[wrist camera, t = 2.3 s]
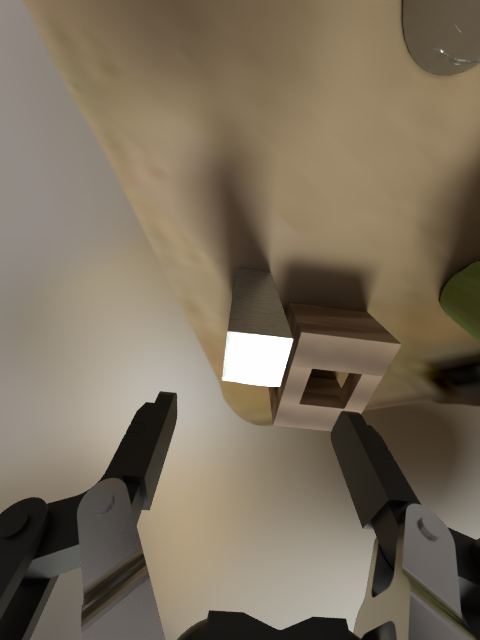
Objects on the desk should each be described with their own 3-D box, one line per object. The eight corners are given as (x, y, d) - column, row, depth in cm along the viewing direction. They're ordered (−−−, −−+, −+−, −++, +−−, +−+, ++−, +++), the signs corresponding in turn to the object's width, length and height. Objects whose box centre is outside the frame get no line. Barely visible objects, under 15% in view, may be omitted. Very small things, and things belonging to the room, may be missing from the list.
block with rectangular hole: (289, 302, 27) (301, 332, 21) (367, 312, 28) (401, 344, 22) (268, 384, 34) (273, 425, 28) (331, 391, 35) (349, 433, 28)
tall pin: (236, 267, 25) (227, 331, 13) (270, 271, 26) (293, 338, 13) (232, 299, 27) (222, 380, 15) (264, 303, 28) (279, 386, 15)
